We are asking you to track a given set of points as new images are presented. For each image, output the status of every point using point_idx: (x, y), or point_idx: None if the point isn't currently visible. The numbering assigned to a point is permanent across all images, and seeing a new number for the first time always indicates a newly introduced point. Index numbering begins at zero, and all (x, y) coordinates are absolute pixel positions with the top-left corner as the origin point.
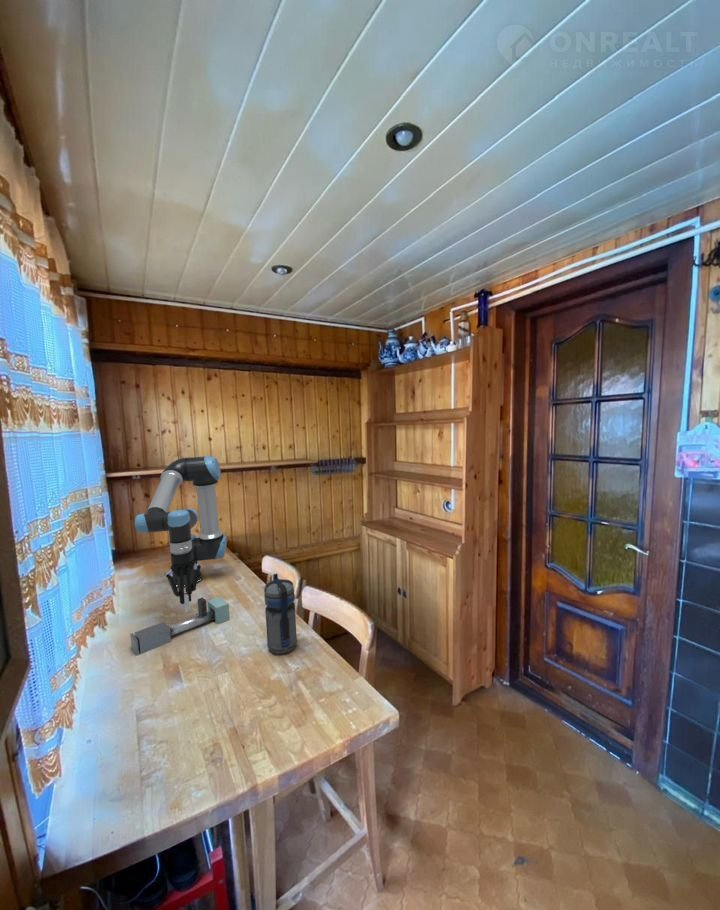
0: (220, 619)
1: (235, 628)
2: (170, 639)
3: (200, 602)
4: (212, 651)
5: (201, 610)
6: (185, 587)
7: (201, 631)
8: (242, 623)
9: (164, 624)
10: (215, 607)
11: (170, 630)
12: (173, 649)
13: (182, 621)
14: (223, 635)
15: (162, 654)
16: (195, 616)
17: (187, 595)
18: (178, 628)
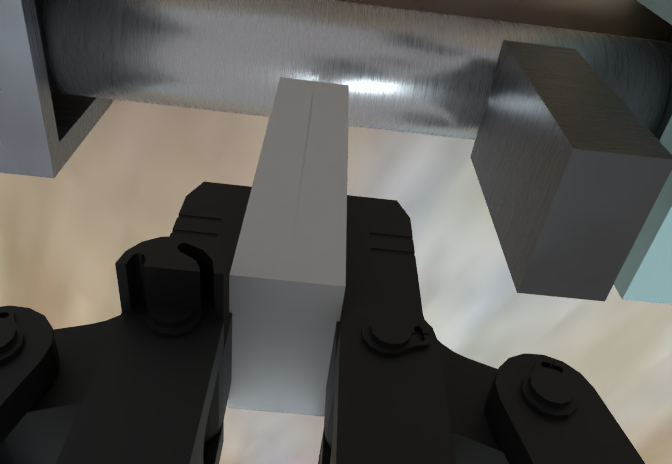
0: None
1: (573, 336)
2: (100, 112)
3: (519, 264)
4: (297, 421)
5: (488, 201)
6: (337, 445)
7: (392, 167)
8: (660, 321)
9: (2, 31)
10: (634, 272)
11: (90, 94)
12: (102, 230)
13: (253, 67)
14: (455, 344)
15: (13, 226)
16: (432, 80)
17: (302, 407)
18: (185, 106)
